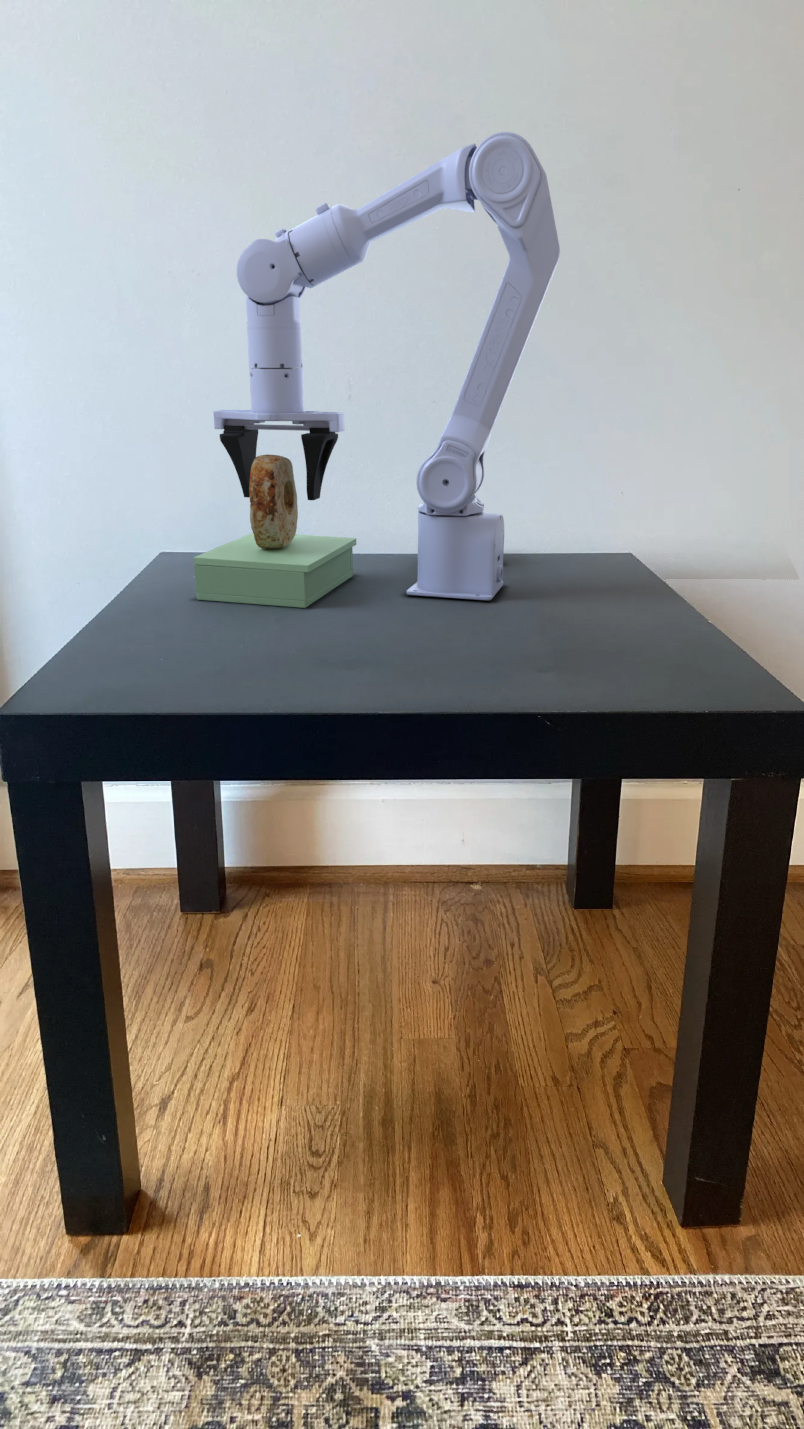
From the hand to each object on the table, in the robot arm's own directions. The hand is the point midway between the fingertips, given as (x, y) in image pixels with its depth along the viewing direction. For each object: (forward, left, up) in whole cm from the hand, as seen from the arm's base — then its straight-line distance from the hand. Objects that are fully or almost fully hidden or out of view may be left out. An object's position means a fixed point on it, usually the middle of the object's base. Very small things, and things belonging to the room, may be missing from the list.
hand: (281, 497), depth 105 cm
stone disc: (0, +2, -5) cm, 6 cm away
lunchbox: (0, +2, -10) cm, 10 cm away
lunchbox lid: (0, +2, -6) cm, 6 cm away
